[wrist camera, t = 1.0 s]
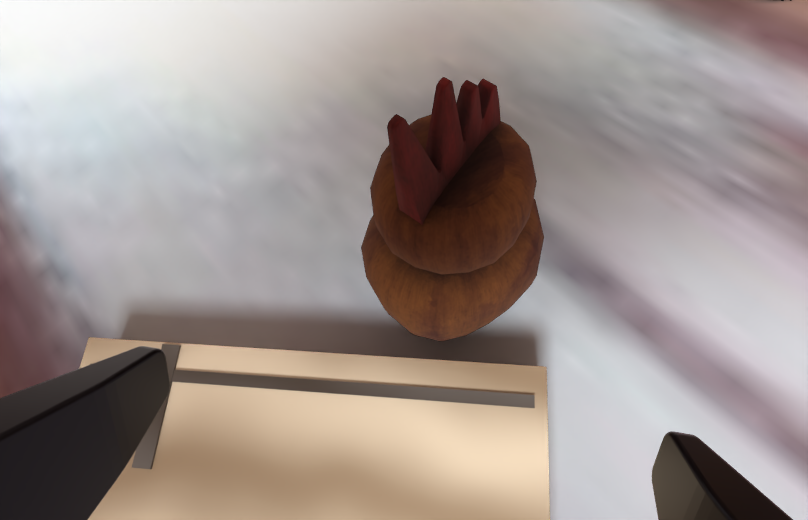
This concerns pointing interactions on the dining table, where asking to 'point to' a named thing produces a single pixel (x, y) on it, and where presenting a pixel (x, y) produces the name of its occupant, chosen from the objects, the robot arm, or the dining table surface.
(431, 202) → the wooden figurine
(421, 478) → the maple board
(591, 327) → the dining table surface
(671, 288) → the dining table surface
